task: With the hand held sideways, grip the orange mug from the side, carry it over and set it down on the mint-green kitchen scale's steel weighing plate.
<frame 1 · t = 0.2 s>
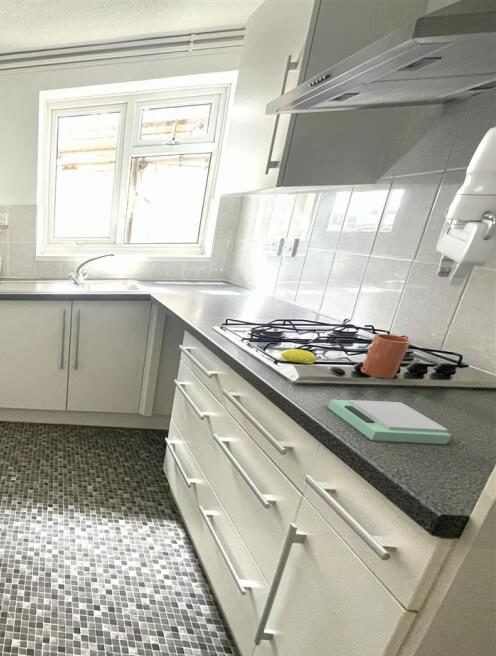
hand: (447, 280, 89), 26 cm above the countertop, tool pointing down, fingers open, 8 cm apart
scale: (381, 426, 84), on the countertop
lemon: (295, 363, 114), on the countertop
orange mug: (376, 374, 107), on the countertop
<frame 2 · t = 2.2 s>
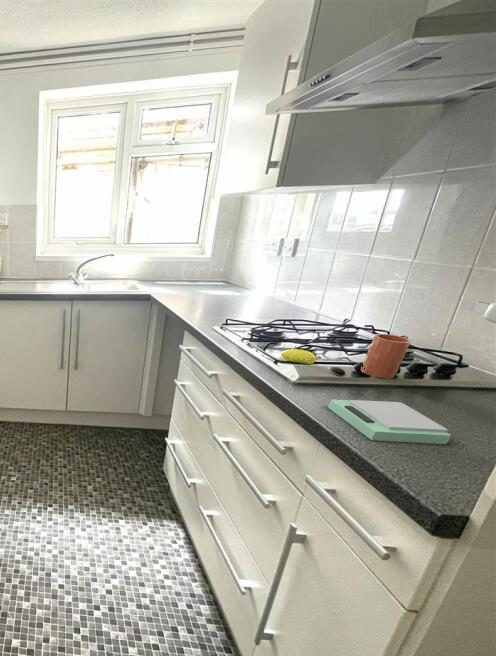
hand: (469, 304, 97), 19 cm above the countertop, tool horizontal, fingers open, 8 cm apart
nothing on the countertop moved.
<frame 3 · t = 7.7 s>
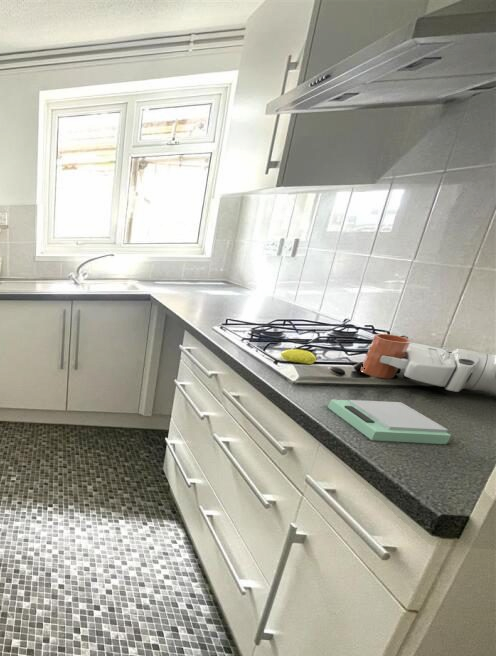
hand: (380, 353, 105), 6 cm above the countertop, tool horizontal, fingers closed on orange mug, 7 cm apart
orange mug: (376, 374, 107), on the countertop, touching gripper
everything else where it was.
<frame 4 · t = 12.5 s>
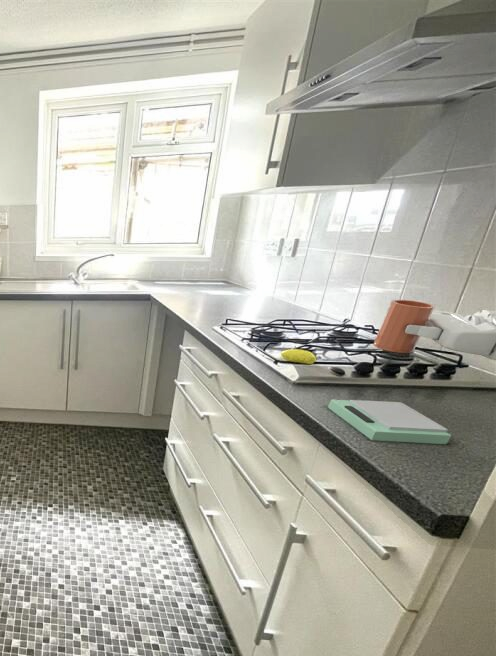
hand: (398, 323, 90), 17 cm above the countertop, tool horizontal, fingers closed on orange mug, 7 cm apart
orange mug: (392, 347, 92), point 12 cm above the countertop, touching gripper
everything else where it was.
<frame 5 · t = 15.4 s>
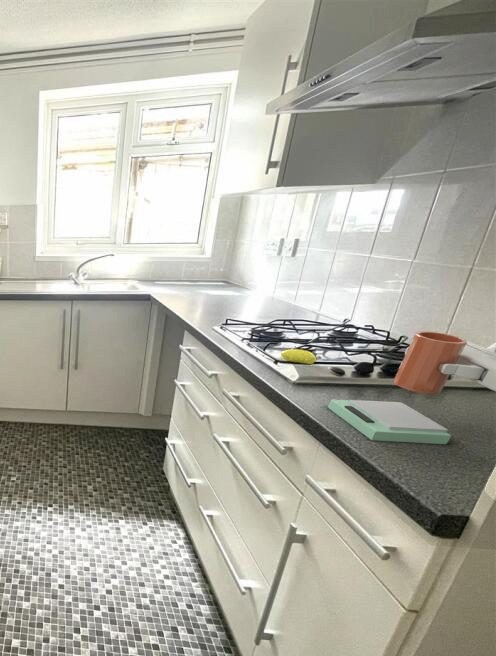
hand: (424, 359, 77), 15 cm above the countertop, tool horizontal, fingers closed on orange mug, 7 cm apart
orange mug: (416, 386, 80), point 9 cm above the countertop, touching gripper
everything else where it was.
when the fingers open (9 cm above the countertop, at t = 17.7 s): orange mug stays where it is, resting on scale.
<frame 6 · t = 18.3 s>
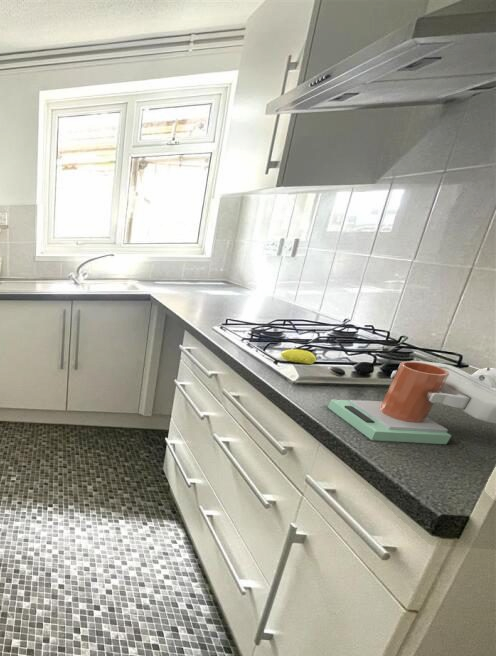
hand: (410, 385, 80), 9 cm above the countertop, tool horizontal, fingers open, 8 cm apart
orange mug: (401, 414, 82), point 3 cm above the countertop, touching scale
everything else where it was.
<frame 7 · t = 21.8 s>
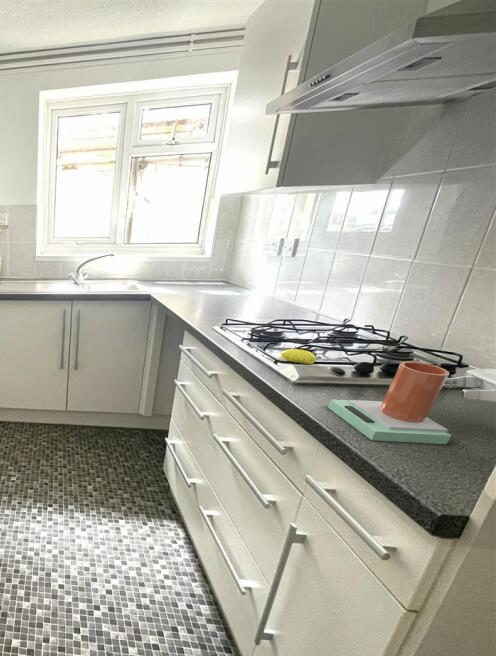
hand: (452, 388, 83), 7 cm above the countertop, tool horizontal, fingers open, 8 cm apart
nothing on the countertop moved.
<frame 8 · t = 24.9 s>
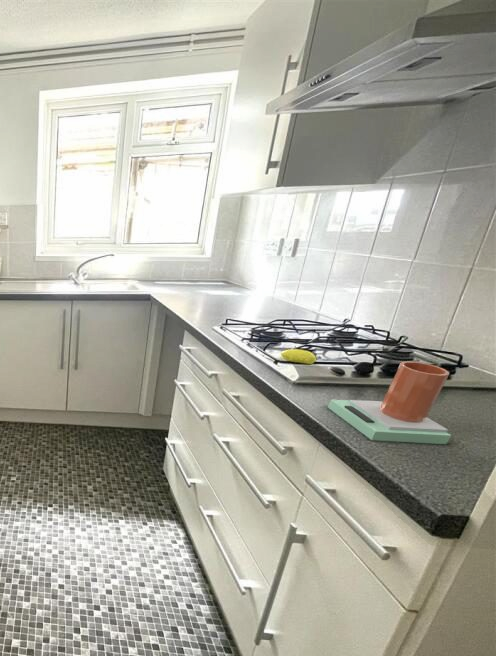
nothing on the countertop moved.
at the end: orange mug inside the target area on the scale (0.4 cm from its centre), point 3.0 cm above the scale's base; orange mug tilted 0°; the gripper is holding nothing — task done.
